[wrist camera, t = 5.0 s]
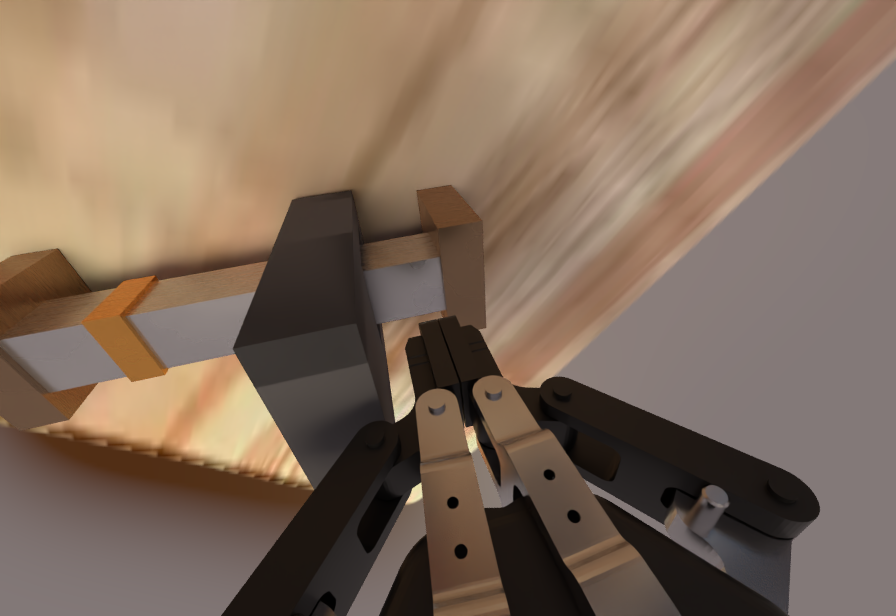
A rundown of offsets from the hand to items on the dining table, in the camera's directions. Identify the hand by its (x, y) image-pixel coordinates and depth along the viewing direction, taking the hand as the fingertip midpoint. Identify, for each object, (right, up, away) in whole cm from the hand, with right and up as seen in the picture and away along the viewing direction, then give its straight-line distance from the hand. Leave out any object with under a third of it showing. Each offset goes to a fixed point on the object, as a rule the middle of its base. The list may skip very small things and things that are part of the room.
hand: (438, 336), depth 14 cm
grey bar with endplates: (-10, +3, +6) cm, 12 cm away
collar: (-6, +4, +7) cm, 10 cm away
